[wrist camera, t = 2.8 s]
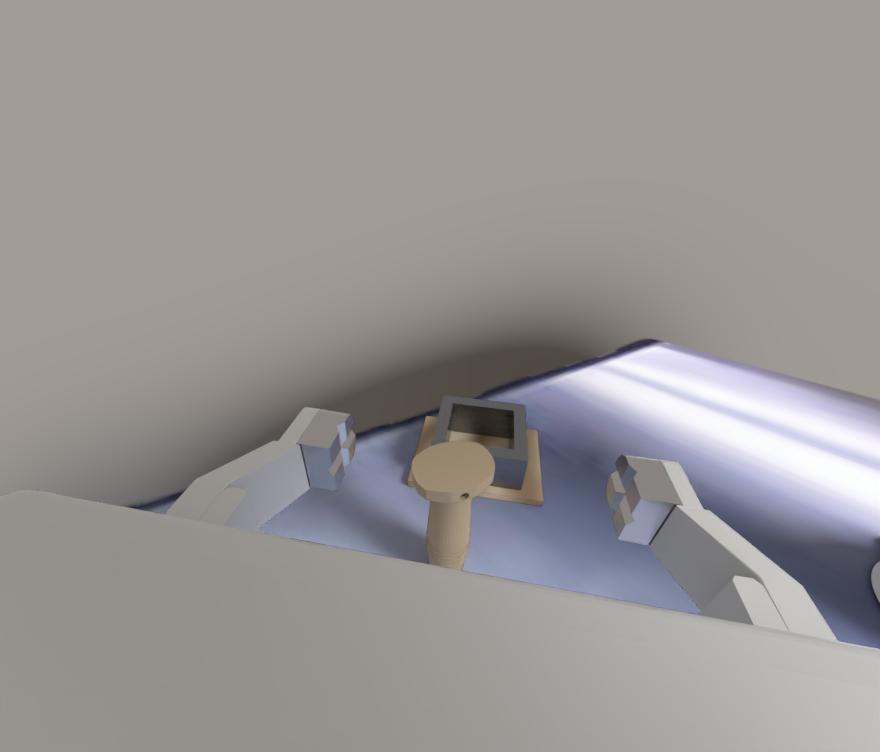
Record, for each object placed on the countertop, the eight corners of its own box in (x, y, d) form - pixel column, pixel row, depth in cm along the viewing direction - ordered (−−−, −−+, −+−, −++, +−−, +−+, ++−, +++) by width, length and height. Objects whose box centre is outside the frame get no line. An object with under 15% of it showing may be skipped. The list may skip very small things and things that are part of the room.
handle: (408, 554, 38) (404, 451, 29) (466, 536, 39) (479, 434, 31) (421, 602, 34) (422, 500, 25) (485, 580, 36) (505, 478, 27)
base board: (535, 435, 53) (537, 430, 52) (541, 506, 43) (543, 500, 42) (426, 421, 54) (426, 415, 54) (407, 486, 45) (407, 480, 44)
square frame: (519, 432, 51) (525, 405, 49) (521, 490, 43) (528, 461, 40) (442, 422, 53) (443, 395, 50) (429, 477, 45) (430, 447, 42)
